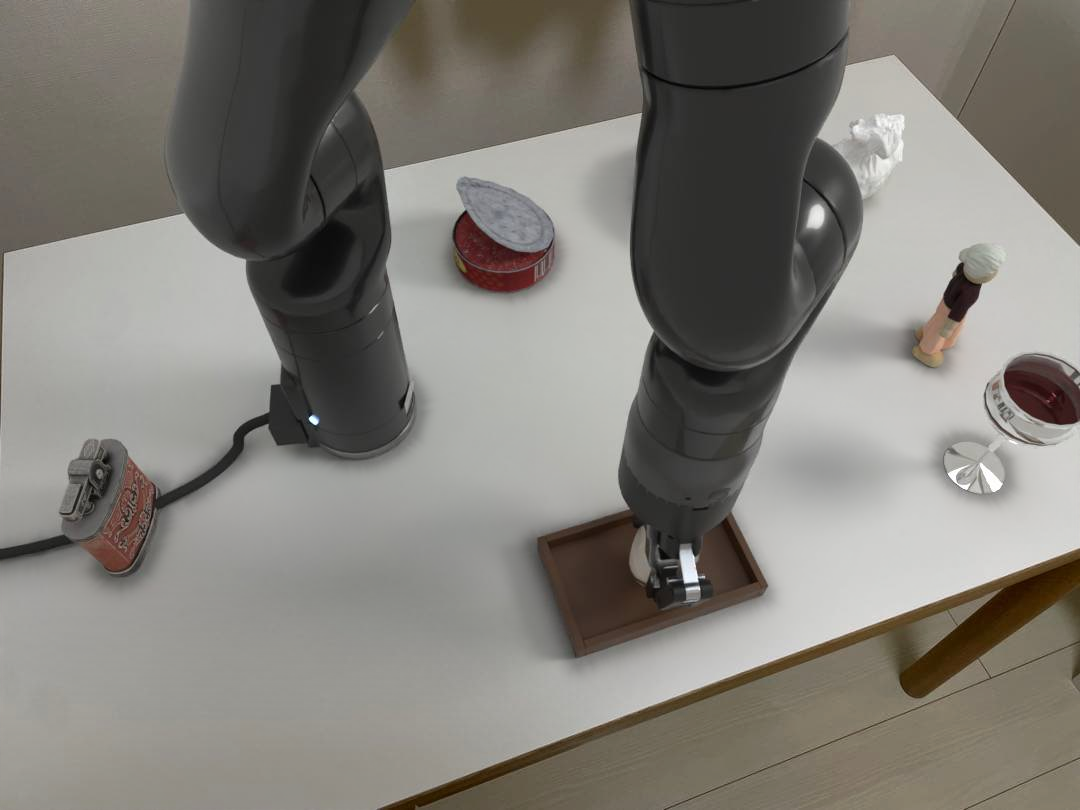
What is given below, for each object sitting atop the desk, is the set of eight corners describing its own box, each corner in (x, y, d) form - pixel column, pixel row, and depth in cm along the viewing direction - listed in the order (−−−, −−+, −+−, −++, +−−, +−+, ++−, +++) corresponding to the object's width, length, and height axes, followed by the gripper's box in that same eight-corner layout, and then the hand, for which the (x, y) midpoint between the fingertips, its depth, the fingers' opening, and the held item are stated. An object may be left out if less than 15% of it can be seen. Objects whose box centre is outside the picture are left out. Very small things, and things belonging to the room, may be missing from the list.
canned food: (477, 254, 89) (482, 159, 84) (566, 274, 87) (577, 177, 82) (426, 288, 80) (428, 183, 75) (524, 312, 77) (533, 204, 72)
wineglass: (1013, 514, 69) (1097, 440, 59) (928, 488, 70) (996, 411, 60) (1018, 446, 72) (1098, 365, 62) (937, 422, 73) (1002, 339, 63)
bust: (787, 221, 89) (850, 203, 78) (769, 150, 88) (830, 121, 77) (884, 193, 92) (958, 171, 81) (867, 123, 91) (940, 92, 80)
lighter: (128, 483, 69) (72, 420, 61) (169, 484, 69) (119, 421, 61) (97, 577, 65) (33, 522, 57) (141, 578, 65) (83, 524, 57)
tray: (576, 658, 62) (578, 650, 60) (536, 547, 67) (537, 537, 65) (762, 595, 65) (768, 586, 63) (712, 493, 69) (716, 481, 68)
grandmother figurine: (953, 379, 76) (1023, 287, 65) (909, 372, 76) (972, 279, 66) (948, 314, 80) (1013, 216, 69) (907, 307, 80) (965, 209, 70)
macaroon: (638, 599, 63) (642, 587, 60) (613, 540, 65) (616, 526, 63) (691, 582, 63) (697, 569, 61) (665, 524, 66) (669, 510, 64)
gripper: (605, 352, 53) (589, 478, 67) (648, 568, 45) (619, 658, 59) (723, 341, 53) (682, 469, 68) (784, 553, 46) (723, 646, 60)
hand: (653, 557), depth 63 cm, fingers closed on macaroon, 5 cm apart
